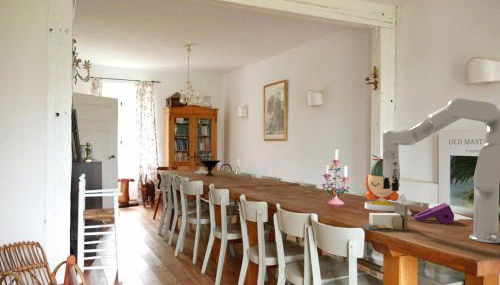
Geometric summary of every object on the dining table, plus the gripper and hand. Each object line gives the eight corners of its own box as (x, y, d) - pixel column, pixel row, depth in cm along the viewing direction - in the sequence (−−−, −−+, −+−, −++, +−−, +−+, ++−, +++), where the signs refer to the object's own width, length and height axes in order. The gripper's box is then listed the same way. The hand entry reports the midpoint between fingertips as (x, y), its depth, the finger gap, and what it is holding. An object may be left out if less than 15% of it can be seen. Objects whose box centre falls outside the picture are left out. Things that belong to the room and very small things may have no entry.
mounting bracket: (422, 233, 211) (456, 220, 208) (415, 218, 212) (449, 205, 208) (419, 229, 221) (451, 217, 217) (412, 215, 222) (444, 202, 218)
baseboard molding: (453, 221, 217) (474, 221, 218) (454, 216, 217) (474, 216, 218) (423, 211, 248) (441, 212, 249) (423, 207, 248) (441, 207, 249)
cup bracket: (407, 230, 189) (407, 205, 189) (393, 230, 189) (394, 205, 189) (397, 225, 200) (397, 202, 200) (384, 225, 200) (384, 202, 200)
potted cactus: (400, 211, 243) (401, 155, 243) (363, 209, 250) (364, 154, 250) (398, 206, 263) (399, 155, 264) (364, 204, 270) (364, 154, 270)
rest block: (378, 229, 190) (378, 225, 190) (368, 229, 189) (368, 225, 189) (372, 226, 198) (372, 222, 198) (362, 226, 197) (362, 222, 197)
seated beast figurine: (412, 215, 230) (412, 195, 230) (396, 214, 232) (396, 194, 233) (409, 213, 239) (410, 193, 239) (395, 212, 242) (395, 192, 242)
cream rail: (396, 223, 197) (396, 213, 197) (400, 225, 192) (400, 214, 192) (369, 222, 196) (369, 213, 196) (372, 225, 191) (373, 214, 191)
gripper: (406, 155, 186) (406, 191, 186) (390, 155, 204) (390, 188, 203) (391, 155, 186) (391, 191, 185) (376, 155, 203) (376, 188, 203)
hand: (390, 189), depth 194 cm, fingers open, 9 cm apart
